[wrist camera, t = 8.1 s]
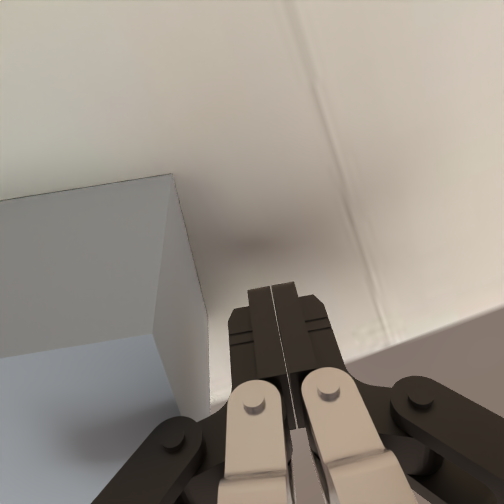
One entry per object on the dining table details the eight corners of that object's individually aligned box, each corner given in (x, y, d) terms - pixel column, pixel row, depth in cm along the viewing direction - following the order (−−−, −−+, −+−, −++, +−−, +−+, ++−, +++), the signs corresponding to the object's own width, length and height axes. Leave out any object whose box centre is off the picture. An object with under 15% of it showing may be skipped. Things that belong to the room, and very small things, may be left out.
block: (-81, 213, 16) (-288, 404, 9) (172, 173, 16) (152, 333, 9) (6, 350, 20) (-93, 553, 13) (208, 318, 20) (212, 503, 13)
